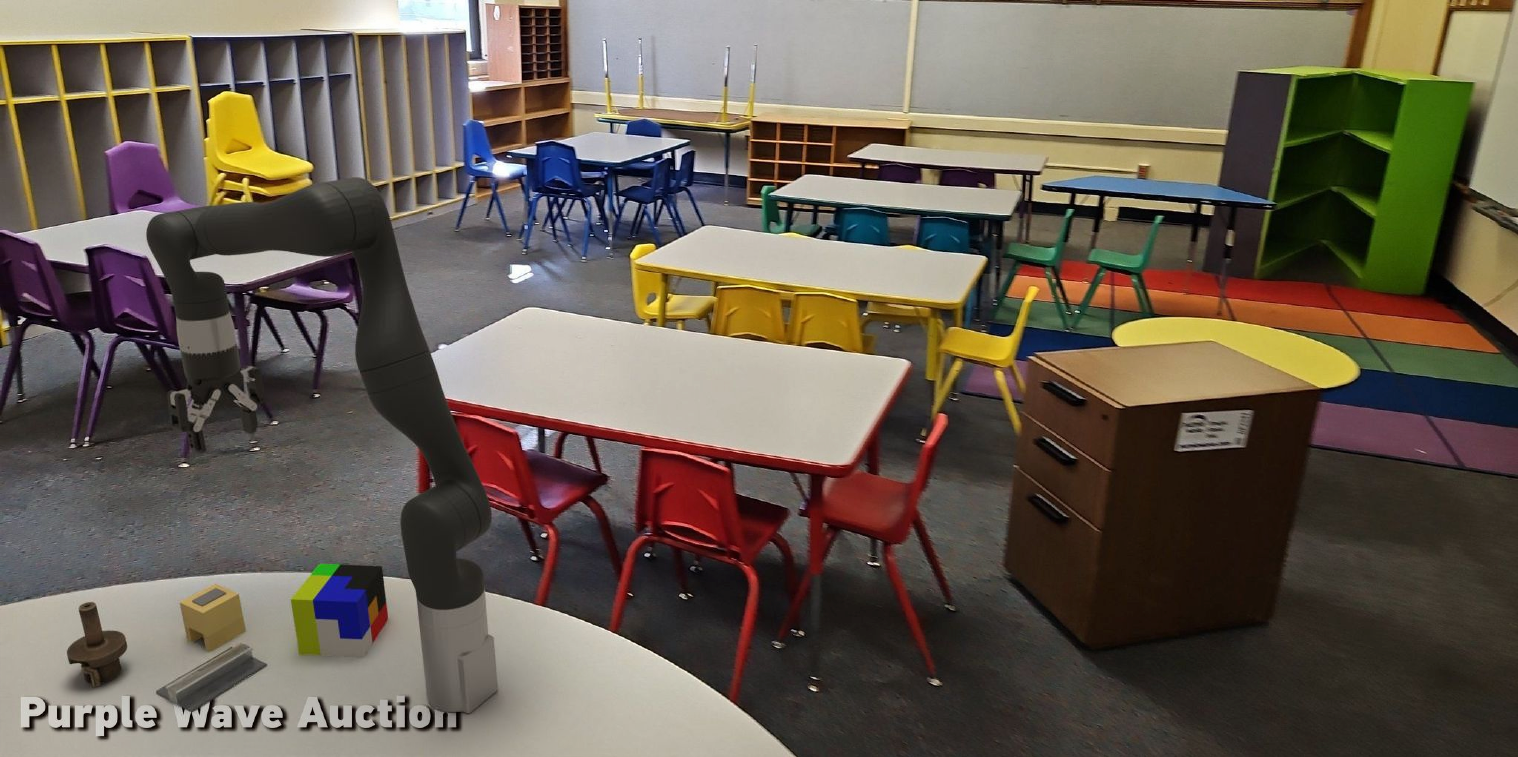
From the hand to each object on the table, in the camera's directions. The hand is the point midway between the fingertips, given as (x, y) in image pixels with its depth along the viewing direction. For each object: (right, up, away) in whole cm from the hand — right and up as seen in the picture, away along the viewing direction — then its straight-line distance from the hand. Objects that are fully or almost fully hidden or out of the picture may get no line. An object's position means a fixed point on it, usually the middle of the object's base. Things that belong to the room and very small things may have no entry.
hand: (225, 441), depth 154 cm
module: (-2, -31, +2) cm, 31 cm away
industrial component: (-14, -34, -7) cm, 37 cm away
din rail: (+2, -34, -8) cm, 35 cm away
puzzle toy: (+17, -31, +3) cm, 36 cm away
